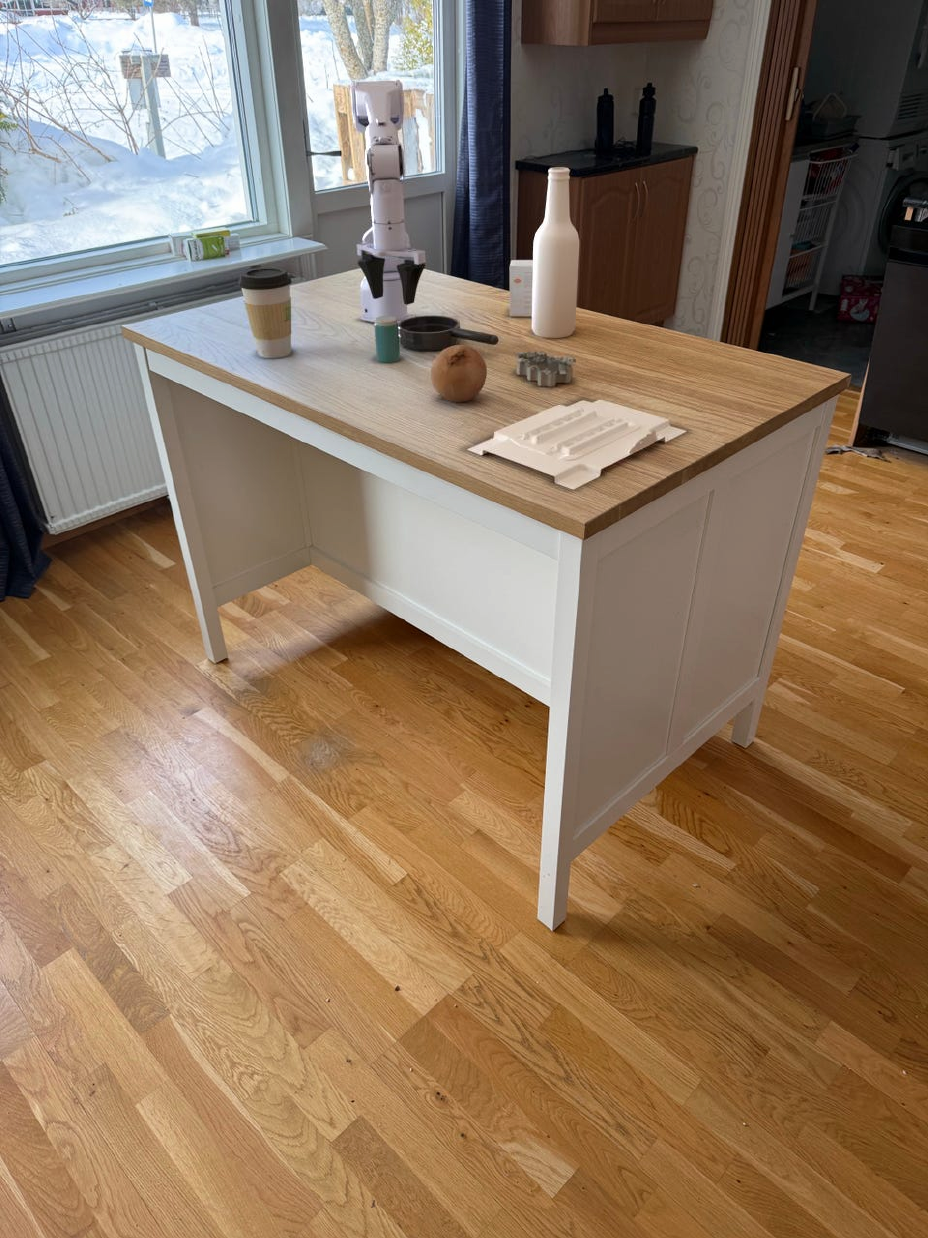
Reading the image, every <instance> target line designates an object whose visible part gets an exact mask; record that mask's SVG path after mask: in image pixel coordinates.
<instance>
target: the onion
mask: <svg viewBox="0 0 928 1238" xmlns="http://www.w3.org/2000/svg"><path fill="white" fill-rule="evenodd" d="M487 370H488V369H487V364H486V362H485V359H484V358H483V356H482V354H481V353H480V352H479V351H477V350H476V349H475V348H473V347H471V346H470V345H469V346H468V345H464V344H456V345H454V346H451V347H448V348H446V349H443V350H441V351H440V352H439V354H437V356H436V357H435V358H434V360H433V361H432V363H431V368H430V381H431V384H432V387H433V388H434V390H435V392H436V393H437V396H438V397H439V398H440V399H442V400H443V399H444V400H448V401H451V402H455V403H463V402H469V401H471V400H472V399H474V398H475V397H477V396H478V395H479V393H480V392H481V391H482V389H483V388H484V386H485V384H486V381H487V375H488V372H487Z"/></svg>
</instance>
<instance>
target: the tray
mask: <svg viewBox="0 0 928 1238" xmlns="http://www.w3.org/2000/svg"><path fill="white" fill-rule="evenodd" d="M684 433H687V430H685V429H681V428H678V427H674V426H671V425H670V419H668V418H665V417H661V416H658V415H655V414H651V413H648V412H644V411H641V410H638V409H634V408H631V407H627V406H624V405H620V404H617V403H614V402H611V401H608V400H604V399H598V400H596V401H595V400H594V401H593V402H591V401H588V400H584V399H583V400H580V401H578V402H576V403H573V404H571V405H568V406H566V405H562V404H558V405H555V406H553V407H550V408H548V409H545V410H543V411H541V412H539V413H536V414H534V415H530V416H528V417H526V418H524V419H521V420H519V421H517V422H514V423H512V424H509V425H507V426H505V427H502V428H500V429H498V430H496V431H494V432H493V437H492V438H490V439H488V440H485V441H483V442H481V443H478V444H477V445H474V446H471V447H469V448H467V449H466V451H469V452H471V453H475V454H477V455H480V456H483V455H485V454H488V453H490V454H493V455H496V456H499V457H501V458H503V459H506V460H509V461H512V462H515V463H518V464H520V465H523V466H526V467H527V468H528V467H529V468H531V469H534V470H536V471H539V472H542V473H544V474H547V475H550V476H552V477H553V479H554V483H555V484H557V485H559V486H562V487H565V488H567V489H570V490H576V489H578V488H579V487H581V486H583V485H586V484H587V483H589V482H591V481H593V480H595V479H598V478H599V477H600V476H601V473H602V470H603V469H604V468H607V467H608V466H611V465H613V464H614V463H616V462H619V461H620V460H623V459H624V458H626V457H628V456H631V455H632V454H634V453H636V452H638V451H640V450H643V449H644V448H646V447H648V446H650V445H652V444H654V443H655V442H658V441H660V442H664V443H667V442H670V441H672V440H673V439H675V438H677V437H679V436H681V435H683V434H684Z"/></svg>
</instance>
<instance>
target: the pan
mask: <svg viewBox="0 0 928 1238" xmlns="http://www.w3.org/2000/svg"><path fill="white" fill-rule="evenodd" d="M454 327H456V328H461V322H460V321H459V320H458V319H456V318H454V317H450V316H447V315H446V316H445V315H419V316H417V315H416V317H412V318H408V319H405V320H402V321H401V322H399V323H398V331H399V345H401V346H403V347H404V348H406V349H409V350H413V351H421V352H434V351H435V352H437V351H443V350H445V349H446V348H448V347H451V346H455V345H458V344H459V342H460V341H461V338H456V337H453V336H452V335H451V329H452V328H454Z"/></svg>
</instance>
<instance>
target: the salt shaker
mask: <svg viewBox="0 0 928 1238" xmlns="http://www.w3.org/2000/svg"><path fill="white" fill-rule="evenodd" d="M373 323H374V322H373ZM373 325H374V326H373V327H374V338H375V349H376V350H375V352H376V360H377V362H380V363H386V364H388V363H395V362H398V361H400V360H401V351H400V350H401V349H400V343H399V331H398V322H397V318H396V317H393V316H381V317H378V318H376V319H375V323H374V324H373Z"/></svg>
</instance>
